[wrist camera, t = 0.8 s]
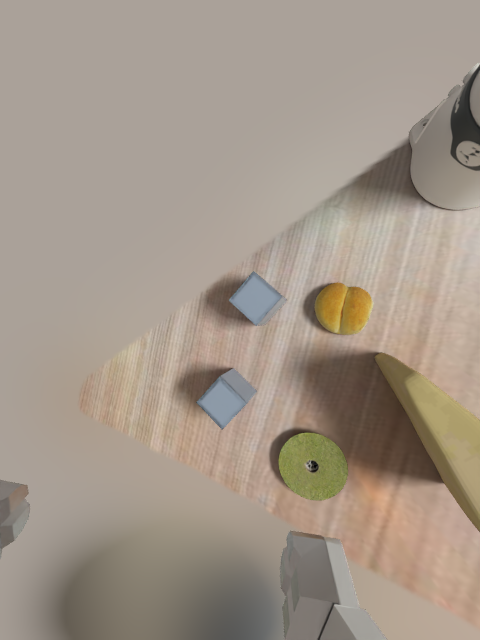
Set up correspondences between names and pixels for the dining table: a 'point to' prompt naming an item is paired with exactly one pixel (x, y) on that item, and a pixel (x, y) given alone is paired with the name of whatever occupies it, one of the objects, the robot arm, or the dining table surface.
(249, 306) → the gray notched block
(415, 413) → the cheese
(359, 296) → the bread roll
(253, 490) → the dining table surface
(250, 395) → the grey stool
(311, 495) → the mat
